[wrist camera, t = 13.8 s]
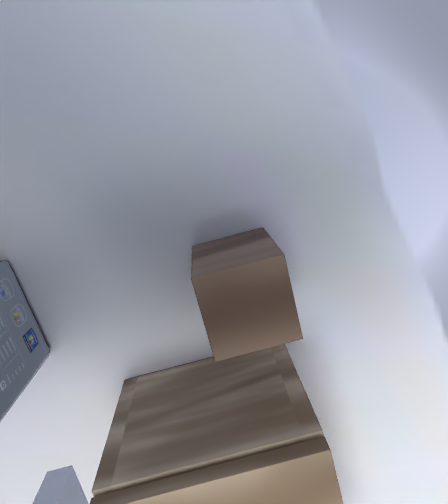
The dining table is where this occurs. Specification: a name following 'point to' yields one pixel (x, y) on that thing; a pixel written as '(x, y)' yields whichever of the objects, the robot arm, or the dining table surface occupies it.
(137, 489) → the lid
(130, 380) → the light wooden box
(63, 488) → the robot arm
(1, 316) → the hard drive box
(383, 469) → the dining table surface
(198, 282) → the walnut block
